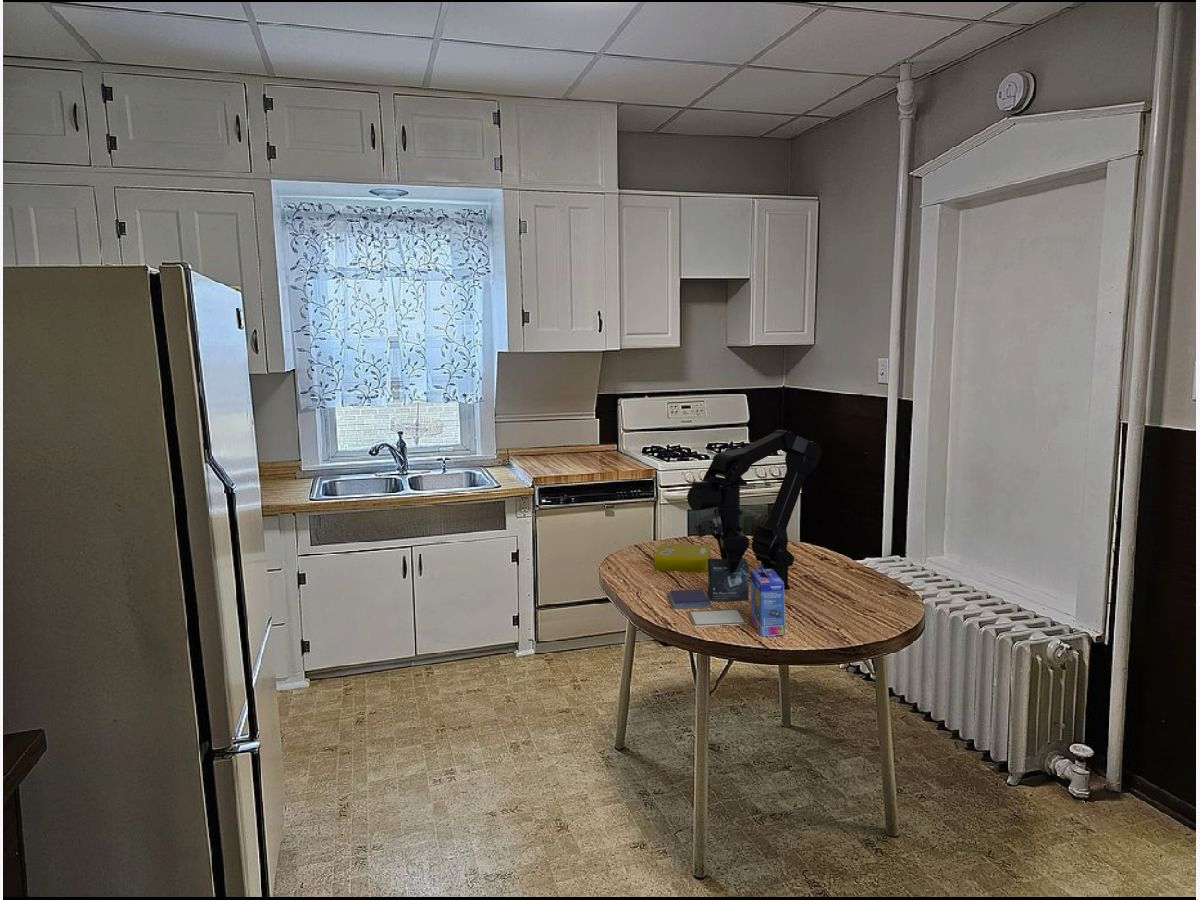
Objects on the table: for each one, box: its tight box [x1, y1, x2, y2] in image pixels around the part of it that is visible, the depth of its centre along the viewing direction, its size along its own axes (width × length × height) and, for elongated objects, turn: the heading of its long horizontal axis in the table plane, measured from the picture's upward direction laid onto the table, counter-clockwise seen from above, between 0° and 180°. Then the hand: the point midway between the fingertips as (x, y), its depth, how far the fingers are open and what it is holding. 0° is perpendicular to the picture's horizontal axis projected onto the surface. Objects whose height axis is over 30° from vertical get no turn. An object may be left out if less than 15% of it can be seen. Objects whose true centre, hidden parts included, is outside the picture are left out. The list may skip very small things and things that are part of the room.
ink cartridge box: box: [750, 562, 786, 637], centre depth 165 cm, size 10×6×14 cm, turn 2°
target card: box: [687, 608, 748, 628], centre depth 173 cm, size 12×9×1 cm
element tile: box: [653, 543, 712, 574], centre depth 215 cm, size 15×15×5 cm
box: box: [707, 557, 750, 602], centre depth 186 cm, size 9×6×10 cm, turn 90°
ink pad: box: [667, 588, 712, 610], centre depth 184 cm, size 9×9×2 cm
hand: (728, 566), depth 185 cm, fingers open, 9 cm apart
